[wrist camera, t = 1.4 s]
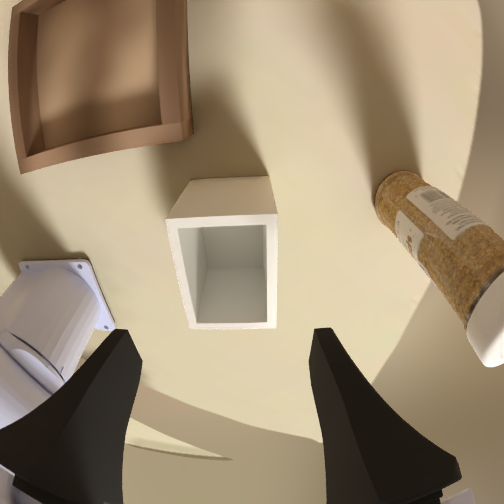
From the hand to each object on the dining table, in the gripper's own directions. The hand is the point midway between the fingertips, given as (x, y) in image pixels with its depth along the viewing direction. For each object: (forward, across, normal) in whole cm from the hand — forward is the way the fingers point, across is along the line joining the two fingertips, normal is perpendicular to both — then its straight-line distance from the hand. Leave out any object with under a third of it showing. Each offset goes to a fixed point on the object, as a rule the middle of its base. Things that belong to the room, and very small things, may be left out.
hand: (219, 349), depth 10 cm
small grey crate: (+10, 0, 0) cm, 10 cm away
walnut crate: (+10, +8, -13) cm, 18 cm away
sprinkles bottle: (+11, -12, -2) cm, 16 cm away
